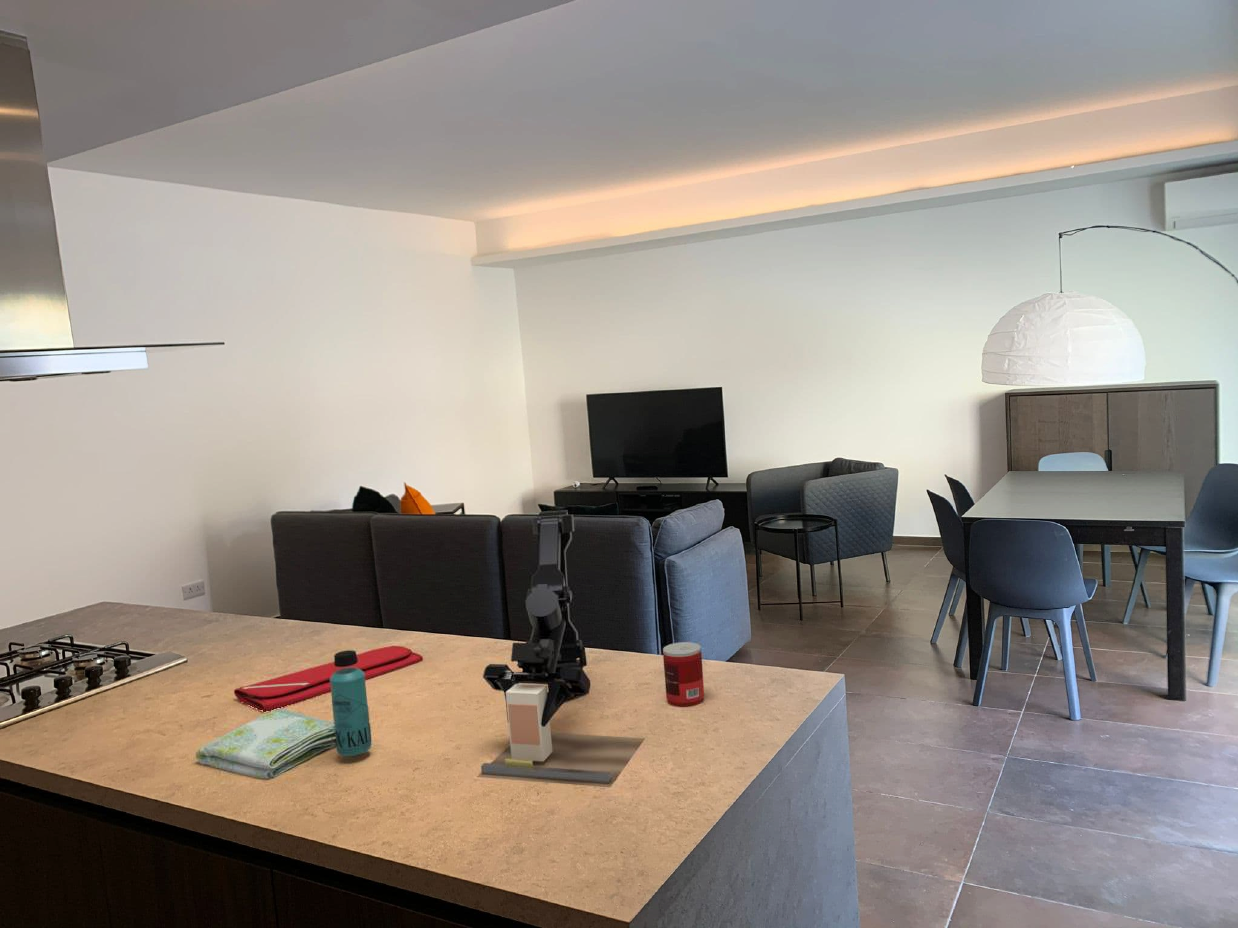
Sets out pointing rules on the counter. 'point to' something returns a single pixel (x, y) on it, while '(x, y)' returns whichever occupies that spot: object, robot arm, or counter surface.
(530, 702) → the cream box
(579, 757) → the shelf board
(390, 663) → the dish drying mat
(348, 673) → the beverage bottle
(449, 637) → the counter surface
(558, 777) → the price rail
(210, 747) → the towel
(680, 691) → the canned food
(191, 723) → the counter surface
